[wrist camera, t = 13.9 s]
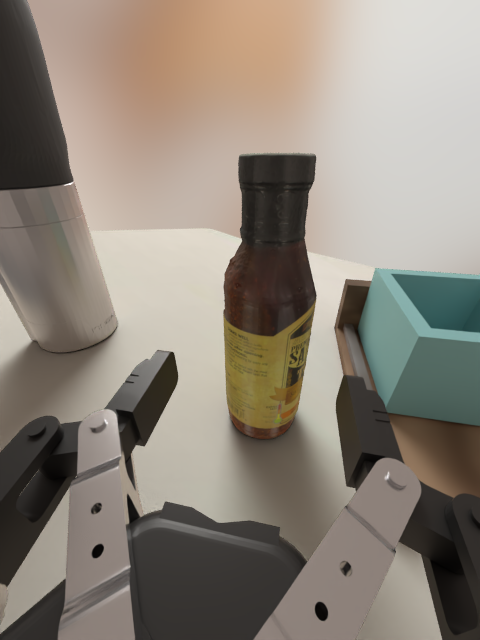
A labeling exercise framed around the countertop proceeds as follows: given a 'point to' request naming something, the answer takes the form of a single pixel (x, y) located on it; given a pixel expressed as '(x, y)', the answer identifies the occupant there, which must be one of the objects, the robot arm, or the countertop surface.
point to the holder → (424, 343)
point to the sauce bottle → (269, 294)
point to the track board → (412, 432)
